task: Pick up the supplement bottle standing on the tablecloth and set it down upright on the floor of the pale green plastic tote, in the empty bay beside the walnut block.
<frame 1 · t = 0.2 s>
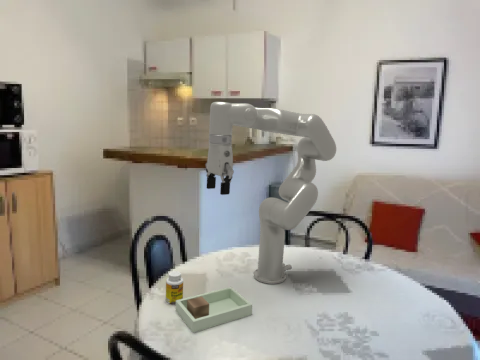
hand: (217, 191, 119), 36 cm above the table, tool pointing down, fingers open, 9 cm apart
supplement bottle: (174, 303, 116), on the table
tote: (213, 314, 110), on the table
walnut block: (197, 317, 107), point 1 cm above the table, touching tote
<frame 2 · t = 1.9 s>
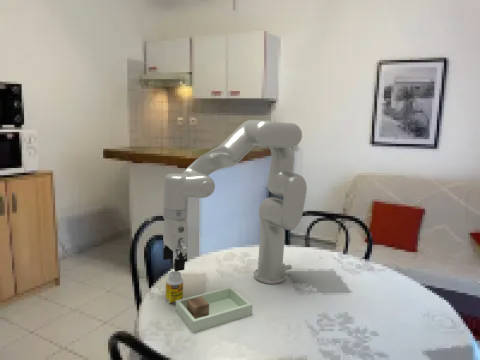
hand: (173, 264, 114), 13 cm above the table, tool pointing down, fingers open, 9 cm apart
nothing on the table moved.
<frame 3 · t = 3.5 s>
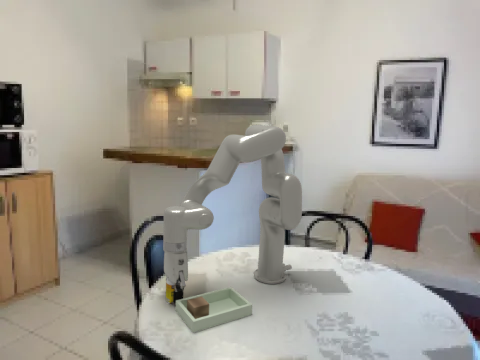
hand: (174, 296, 116), 2 cm above the table, tool pointing down, fingers closed on supplement bottle, 5 cm apart
supplement bottle: (174, 303, 116), on the table, touching gripper
everything else where it was.
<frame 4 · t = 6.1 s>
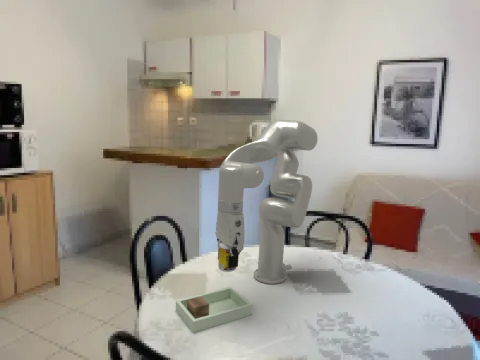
hand: (227, 262, 109), 17 cm above the table, tool pointing down, fingers closed on supplement bottle, 5 cm apart
supplement bottle: (227, 269, 109), point 15 cm above the table, touching gripper
everything else where it was.
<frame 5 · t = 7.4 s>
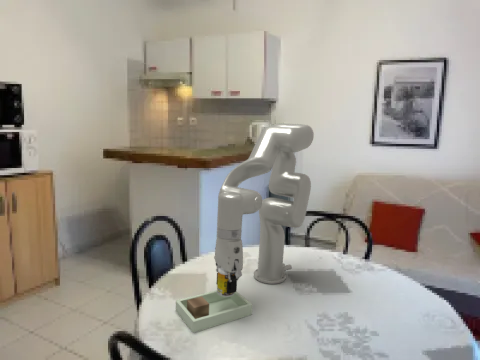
hand: (226, 287, 110), 9 cm above the table, tool pointing down, fingers closed on supplement bottle, 5 cm apart
supplement bottle: (225, 294, 110), point 6 cm above the table, touching gripper
everything else where it was.
when the fingers open (5 cm above the table, at t = 8.6 s): supplement bottle drops 2 cm, resting on tote.
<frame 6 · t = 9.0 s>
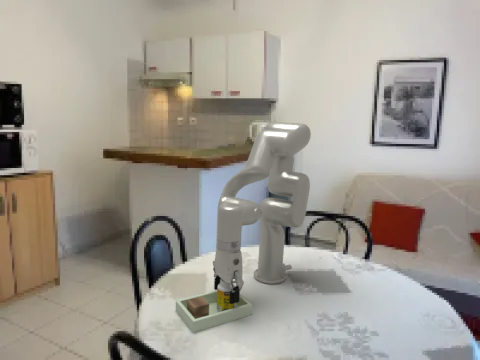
hand: (226, 295, 111), 6 cm above the table, tool pointing down, fingers open, 9 cm apart
supplement bottle: (225, 310, 112), point 1 cm above the table, touching tote
everything else where it was.
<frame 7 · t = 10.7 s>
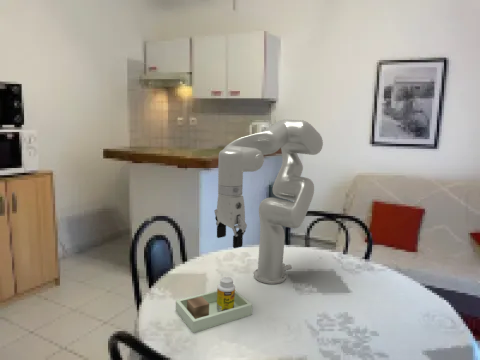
hand: (229, 241, 112), 22 cm above the table, tool pointing down, fingers open, 9 cm apart
nothing on the table moved.
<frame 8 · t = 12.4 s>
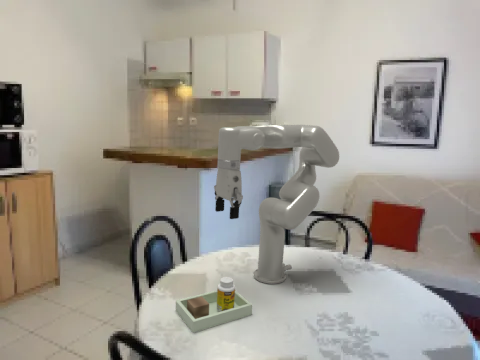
hand: (226, 214, 120), 28 cm above the table, tool pointing down, fingers open, 9 cm apart
nothing on the table moved.
at the end: supplement bottle inside the target area on the tote (0.6 cm from its centre), point 0.6 cm above the tote's base; supplement bottle tilted 0°; the gripper is holding nothing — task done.
